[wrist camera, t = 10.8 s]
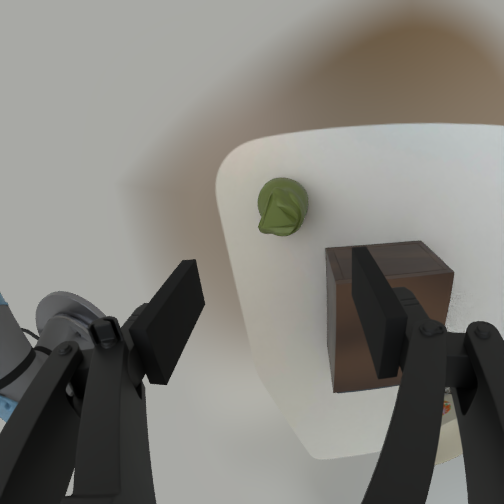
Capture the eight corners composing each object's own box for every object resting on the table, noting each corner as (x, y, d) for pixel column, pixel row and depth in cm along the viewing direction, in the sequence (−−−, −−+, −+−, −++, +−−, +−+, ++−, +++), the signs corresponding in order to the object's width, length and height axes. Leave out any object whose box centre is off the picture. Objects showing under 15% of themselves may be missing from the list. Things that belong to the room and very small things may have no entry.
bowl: (394, 436, 49) (403, 474, 40) (404, 385, 44) (419, 429, 35) (461, 417, 47) (475, 451, 37) (480, 364, 41) (502, 400, 32)
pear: (295, 227, 37) (297, 259, 28) (253, 211, 37) (241, 238, 27) (312, 183, 35) (321, 201, 25) (269, 167, 35) (262, 179, 25)
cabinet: (409, 335, 40) (430, 378, 31) (327, 344, 42) (333, 393, 33) (420, 240, 35) (454, 272, 26) (325, 247, 37) (335, 284, 28)
